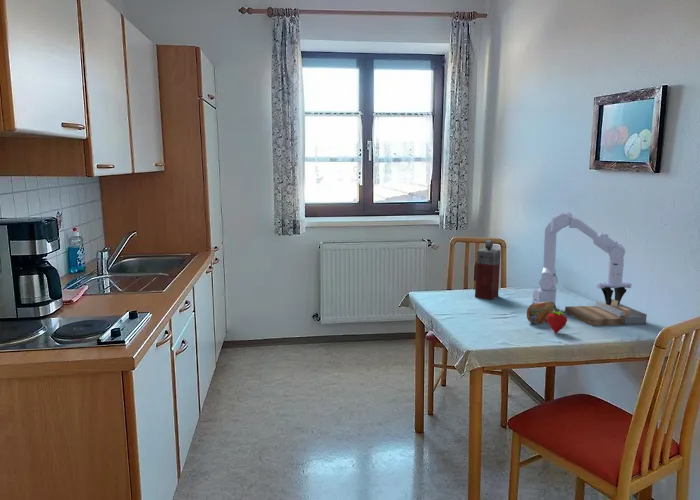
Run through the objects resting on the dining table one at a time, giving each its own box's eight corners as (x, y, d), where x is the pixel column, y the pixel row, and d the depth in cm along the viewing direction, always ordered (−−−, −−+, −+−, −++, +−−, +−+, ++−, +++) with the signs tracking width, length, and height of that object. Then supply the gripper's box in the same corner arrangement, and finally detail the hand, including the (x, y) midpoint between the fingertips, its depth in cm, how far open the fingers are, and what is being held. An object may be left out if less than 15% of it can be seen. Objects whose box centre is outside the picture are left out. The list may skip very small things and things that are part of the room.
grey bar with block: (618, 316, 219) (622, 304, 218) (594, 305, 236) (598, 294, 235) (625, 318, 220) (629, 305, 219) (600, 307, 236) (604, 295, 236)
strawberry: (548, 328, 211) (550, 304, 210) (568, 332, 207) (570, 307, 205) (543, 332, 207) (545, 307, 205) (563, 336, 202) (565, 310, 201)
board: (590, 325, 216) (591, 319, 216) (564, 312, 236) (565, 306, 235) (623, 324, 218) (624, 318, 218) (595, 311, 238) (595, 305, 237)
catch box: (624, 324, 218) (625, 315, 218) (595, 311, 238) (596, 302, 237) (645, 323, 219) (646, 314, 219) (615, 310, 239) (616, 301, 238)
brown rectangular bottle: (476, 292, 270) (479, 238, 265) (498, 296, 263) (501, 240, 259) (470, 296, 262) (472, 240, 258) (492, 299, 256) (495, 242, 252)
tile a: (624, 309, 222) (630, 309, 222) (617, 307, 226) (623, 306, 226) (623, 320, 222) (629, 320, 223) (616, 317, 227) (622, 317, 227)
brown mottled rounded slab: (530, 325, 216) (531, 305, 215) (524, 323, 219) (525, 303, 217) (556, 320, 223) (558, 301, 221) (550, 318, 226) (552, 299, 224)
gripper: (605, 275, 220) (602, 307, 222) (637, 274, 222) (634, 306, 224) (595, 272, 227) (592, 303, 229) (626, 271, 229) (623, 302, 231)
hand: (612, 304), depth 227 cm, fingers closed on grey bar with block, 3 cm apart
